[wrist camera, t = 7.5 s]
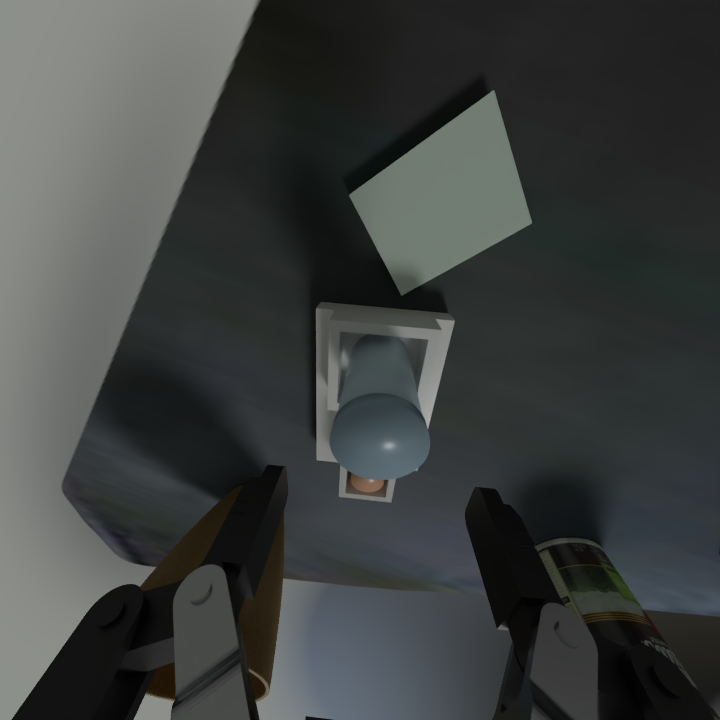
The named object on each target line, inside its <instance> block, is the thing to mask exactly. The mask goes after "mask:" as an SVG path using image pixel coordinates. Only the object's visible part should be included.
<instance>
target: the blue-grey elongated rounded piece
mask: <svg viewBox="0 0 720 720" xmlns="http://www.w3.org/2000/svg"><path fill="white" fill-rule="evenodd" d="M330 448H331V451H332V454H333V456H334V457H335V459H336V460H337V462H338V463H339V464H340V465H341V466H342V467H344V468H345V469H346V470H348V471H349V472H351V473H353V474H355V475H357V476H360V477H363V478H367V479H373V480H390V479H396V478H400V477H403V476H405V475H408V474H410V473H411V472H413V471H415V470H416V469H417V468H419V467H420V466H421V465H422V464H423V462H424V461H425V459H426V458H427V456H428V453H429V450H430V438H429V433H428V429H427V425H426V421H425V419H424V417H423V415H422V411H421V407H420V403H419V398H418V394H417V389H416V385H415V380H414V376H413V372H412V367H411V363H410V358H409V354H408V350H407V348H406V346H405V344H404V343H403V342H402V341H401V340H400V339H399V338H398V337H395V336H384V335H373V334H367V335H365V336H363V337H362V338H360V339H359V340H358V341H357V342H356V344H355V345H354V347H353V349H352V352H351V356H350V360H349V364H348V369H347V373H346V377H345V382H344V386H343V390H342V395H341V399H340V403H339V408H338V412H337V414H336V416H335V418H334V422H333V426H332V430H331V434H330Z"/></svg>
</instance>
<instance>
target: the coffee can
mask: <svg viewBox="0 0 720 720" xmlns="http://www.w3.org/2000/svg"><path fill="white" fill-rule="evenodd" d="M535 549H537V551H538V553H539V555H540V557H541V559H542V561H543V563H544V565H545V567H546V569H547V572H548V574H549V576H550V578H551V580H552V582H553V584H554V586H555V588H556V590H557V592H558V594H559V596H560V598H561V600H562V601H563V603H564V604H565V606H566V607H567V608H568V609H569V610H571V611H572V612H573V613H575V614H576V615H577V616H578V617H579V618H580V619H581V621H582V622H583V623H584V624H585V625H586V627H587V628H588V629H590V630H591V631H593V632H595V633H596V634H598V635H600V636H603V637H605V638H607V639H609V640H611V641H613V642H615V643H617V644H619V645H621V646H623V647H625V648H627V649H630V648H632V647H633V646H635V645H637V644H644V645H647V646H650V647H652V648H654V649H656V650H657V651H659V652H661V653H662V654H663V655H665V656H666V657H667V658H668V659H670V660H671V661H672V662H673V663H674V664H675V665H676V666H677V667H678V668H679V669H680V670H681V671H682V672H683V673H684V675H685V676H686V677H687V678H688V680H689V681H690V682H691V684H692V685H693V687H694V688H695V690H696V691H697V693H698V694H699V696H700V697H701V699H702V700H703V702H704V704H705V705H706V707H707V708H708V710H709V711H710V713H711V714H712V716H713V717H714V719H715V720H720V718H719V716H718V715H717V714H716V712H715V711H714V710H713V709H712V708H711V707H710V706H709V704H708V703H707V702H706V700H705V699H704V697H703V696H702V694H701V693H700V691H699V690H698V689H697V687H696V686H695V684H694V683H693V681H692V680H691V678H690V677H689V676H688V674H687V673H686V671H685V670H684V668H683V667H682V665H681V664H680V662H679V661H678V659H677V658H676V656H675V655H674V654H673V652H672V651H671V649H670V648H669V646H668V645H667V643H666V642H665V641H664V639H663V638H662V636H661V634H660V633H659V632H658V630H657V629H656V627H655V626H654V624H653V623H652V621H651V620H650V619H649V617H648V616H647V614H646V613H645V611H644V610H643V608H642V607H641V606H640V604H639V603H638V601H637V600H636V598H635V597H634V595H633V594H632V592H631V591H630V589H629V588H628V587H627V585H626V584H625V582H624V581H623V579H622V578H621V576H620V575H619V573H618V572H617V570H616V569H615V568H614V566H613V565H612V563H611V562H610V560H609V559H608V557H607V556H606V554H605V552H604V550H603V549H602V547H601V546H600V545H598V544H597V543H595V542H593V541H591V540H588V539H584V538H576V537H565V538H556V539H551V540H548V541H545V542H542V543H540V544H538V545H536V546H535Z"/></svg>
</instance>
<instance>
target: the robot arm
mask: <svg viewBox="0 0 720 720" xmlns="http://www.w3.org/2000/svg"><path fill="white" fill-rule="evenodd" d="M287 496H288V482H287V470H286V467H285V466H277V465H267V466H266V468H265V470H264V472H263V474H262V477H261V478H257V477H252V478H251V479H250V480H249V481H248V482H247V483H246V484H245V485H244V486H243V487H242V488H241V490H240V492H239V494H238V496H237V498H236V500H235V503H233V505H232V507H231V509H230V511H229V514H228V515H227V517H226V519H225V521H224V523H223V525H222V526H221V528H220V530H219V532H218V534H217V536H216V538H215V540H214V542H213V544H212V546H211V548H210V549H209V551H208V553H207V555H206V557H205V559H204V560H203V562H202V563H201V564H200V565H199V567H198V568H197V569H196V570H194V571H193V572H192V573H190V574H189V575H188V576H187V577H185V578H184V579H182V580H180V581H178V582H175V583H172V584H169V585H165V586H161V587H157V588H154V589H150V590H146V591H142V589H141V588H140V587H139V586H137V585H134V584H127V585H122V586H120V587H117V588H115V589H113V590H111V591H110V592H108V593H107V594H105V595H104V596H103V597H101V598H100V599H99V600H98V601H97V602H96V603H95V604H94V605H93V606H92V607H91V608H90V610H89V611H88V612H87V613H86V615H85V616H84V618H83V619H82V620H81V622H80V623H79V625H78V626H77V628H76V629H75V630H74V632H73V633H72V635H71V636H70V638H69V639H68V640H67V642H66V643H65V645H64V646H63V647H62V649H61V650H60V652H59V653H58V655H57V656H56V657H55V659H54V660H53V662H52V663H51V664H50V666H49V667H48V669H47V670H46V672H45V673H44V674H43V676H42V677H41V679H40V680H39V681H38V683H37V684H36V686H35V687H34V689H33V690H32V691H31V693H30V694H29V696H28V697H27V698H26V700H25V701H24V703H23V704H22V706H21V707H20V708H19V710H18V711H17V713H16V714H15V716H14V717H13V719H12V720H133V719H134V717H135V715H136V713H137V711H138V709H139V706H140V704H141V702H142V700H143V698H144V696H145V693H146V691H147V689H148V687H149V685H150V682H151V680H152V678H153V676H154V674H155V672H156V669H157V668H158V667H161V666H164V665H167V664H170V663H173V662H175V683H176V694H175V701H174V703H173V705H172V710H171V720H259V715H258V710H257V705H256V700H255V696H254V692H253V688H252V683H251V678H250V673H249V668H248V663H247V658H246V653H245V648H244V642H243V637H242V632H241V627H240V622H239V614H240V611H241V608H242V606H243V603H244V600H245V599H251V600H254V598H255V595H256V592H257V589H258V586H259V583H260V580H261V577H262V574H263V571H264V568H265V565H266V562H267V559H268V556H269V553H270V550H271V547H272V544H273V541H274V538H275V535H276V532H277V529H278V526H279V523H280V520H281V517H282V514H283V511H284V508H285V505H286V501H287ZM465 520H466V526H467V529H468V532H469V536H470V539H471V543H472V546H473V549H474V553H475V556H476V559H477V563H478V566H479V570H480V573H481V576H482V580H483V583H484V586H485V590H486V593H487V597H488V600H489V603H490V607H491V610H492V613H493V617H494V620H495V624H496V627H497V629H500V630H509V631H510V635H511V638H512V641H513V642H512V644H511V647H510V651H509V655H508V660H507V664H506V668H505V672H504V676H503V681H502V685H501V689H500V694H499V698H498V702H497V706H496V710H495V713H494V716H493V718H492V720H715V719H714V717H713V716H712V714H711V713H710V711H709V710H708V708H707V707H706V705H705V704H704V702H703V700H702V699H701V697H700V696H699V694H698V693H697V691H696V690H695V688H694V687H693V685H692V684H691V682H690V681H689V680H688V678H687V677H686V676H685V675H684V673H683V672H682V671H681V670H680V669H679V668H678V667H677V666H676V665H675V664H674V663H673V662H672V661H671V660H670V659H668V658H667V657H666V656H665V655H663V654H662V653H661V652H659V651H657V650H656V649H654V648H652V647H650V646H647V645H644V644H637V645H635V646H633V647H632V648H630V649H627V648H625V647H623V646H621V645H619V644H617V643H615V642H613V641H611V640H609V639H607V638H605V637H603V636H600V635H598V634H596V633H595V632H593V631H591V630H590V629H588V628H587V627H586V625H585V624H584V623H583V622H582V621H581V619H580V618H579V617H578V616H577V615H576V614H575V613H573V612H572V611H571V610H569V609H568V608H567V607H566V606H565V604H564V603H563V601H562V600H561V598H560V596H559V594H558V592H557V590H556V588H555V586H554V584H553V582H552V580H551V578H550V576H549V574H548V572H547V569H546V567H545V565H544V563H543V561H542V559H541V557H540V555H539V553H538V551H537V549H535V545H534V543H533V541H532V539H531V537H530V536H529V535H528V531H527V529H526V527H525V525H524V523H523V521H522V519H521V517H520V516H519V515H518V514H517V513H516V511H515V510H514V509H513V508H512V507H511V506H510V505H506V504H503V502H502V500H501V497H500V495H499V493H498V492H497V490H495V489H491V488H482V487H475V488H474V490H473V493H472V495H471V498H470V500H469V502H468V505H467V507H466V511H465ZM306 720H331V719H323V718H315V717H307V716H306Z"/></svg>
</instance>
